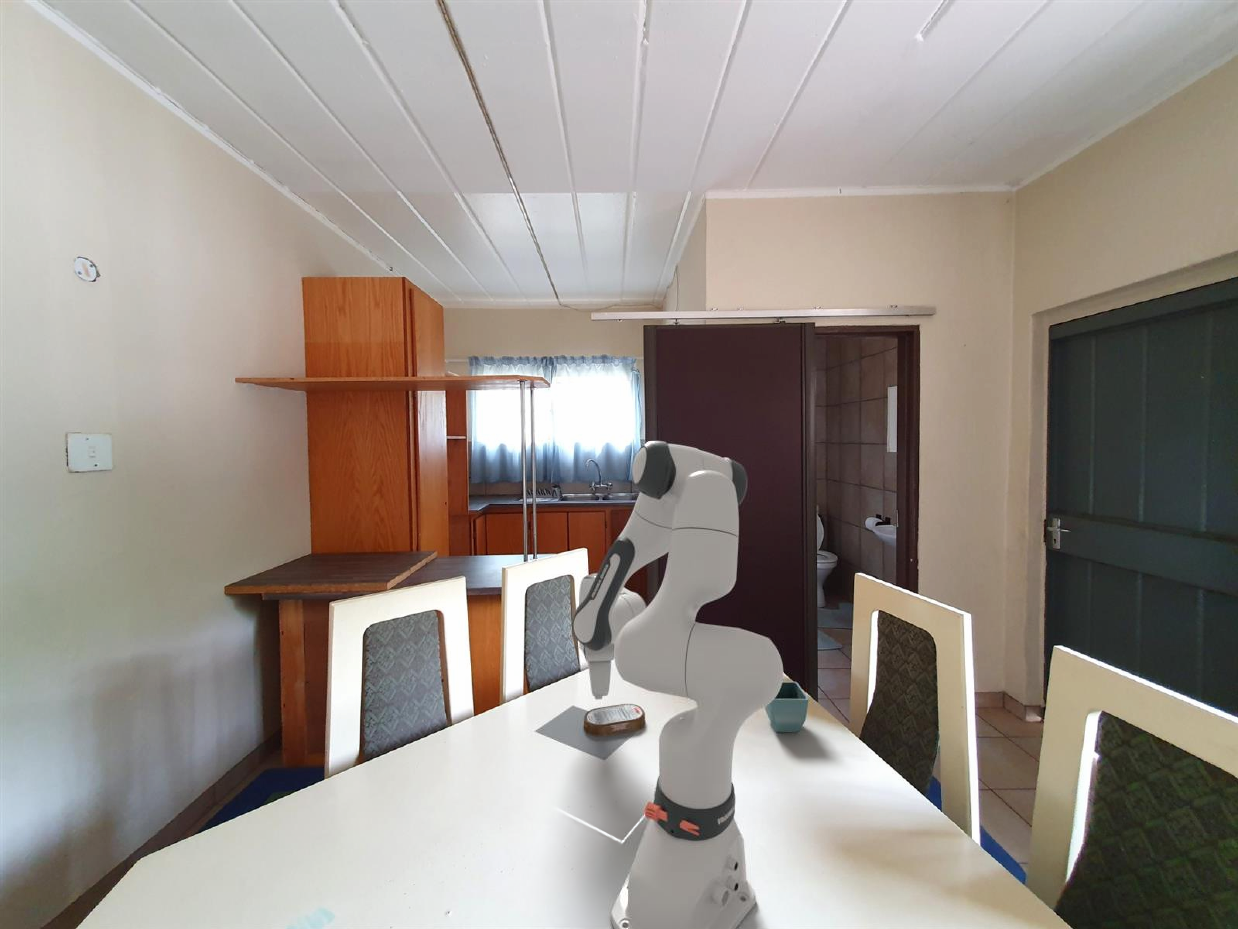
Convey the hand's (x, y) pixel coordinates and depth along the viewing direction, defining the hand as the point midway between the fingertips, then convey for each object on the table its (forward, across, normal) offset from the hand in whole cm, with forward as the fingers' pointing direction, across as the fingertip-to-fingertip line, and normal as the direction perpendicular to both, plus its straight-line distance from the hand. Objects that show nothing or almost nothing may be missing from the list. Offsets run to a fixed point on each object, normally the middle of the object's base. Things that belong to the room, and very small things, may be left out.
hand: (598, 696), depth 120 cm
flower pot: (+7, +7, +44) cm, 45 cm away
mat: (+6, +4, -3) cm, 8 cm away
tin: (+4, -2, +3) cm, 6 cm away
